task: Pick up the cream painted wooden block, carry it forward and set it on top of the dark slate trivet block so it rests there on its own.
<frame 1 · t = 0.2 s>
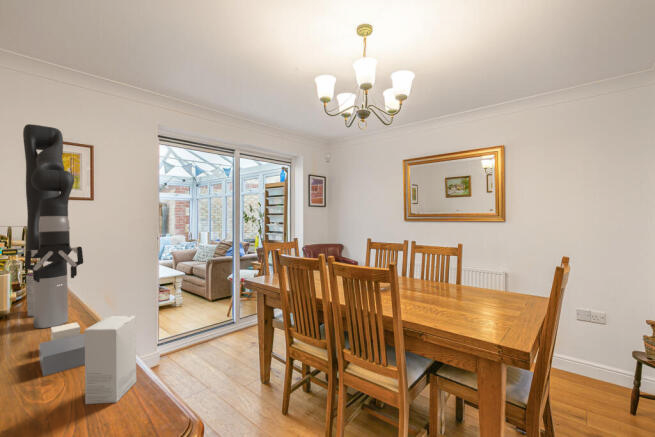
hand: (55, 279, 101), 18 cm above the table, tool pointing down, fingers open, 8 cm apart
slate trivet block: (71, 361, 83), on the table
candy bar box: (46, 313, 125), on the table
cream block: (65, 347, 91), on the table
skincare box: (113, 394, 67), on the table
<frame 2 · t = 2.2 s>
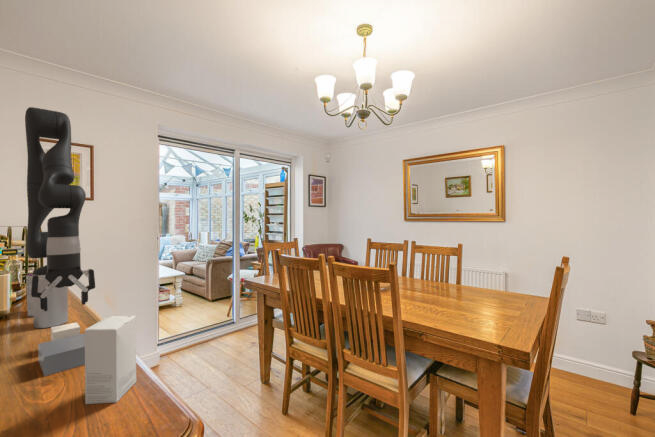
hand: (65, 307, 91), 12 cm above the table, tool pointing down, fingers open, 8 cm apart
nothing on the table moved.
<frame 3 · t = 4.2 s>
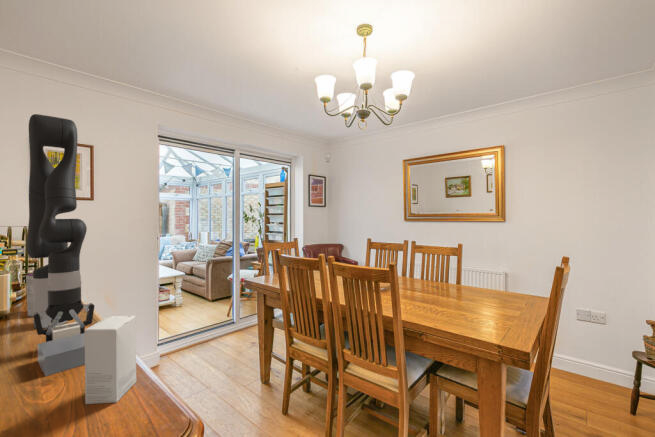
hand: (65, 343, 91), 1 cm above the table, tool pointing down, fingers closed on cream block, 6 cm apart
cream block: (65, 347, 91), on the table, touching gripper
everything else where it was.
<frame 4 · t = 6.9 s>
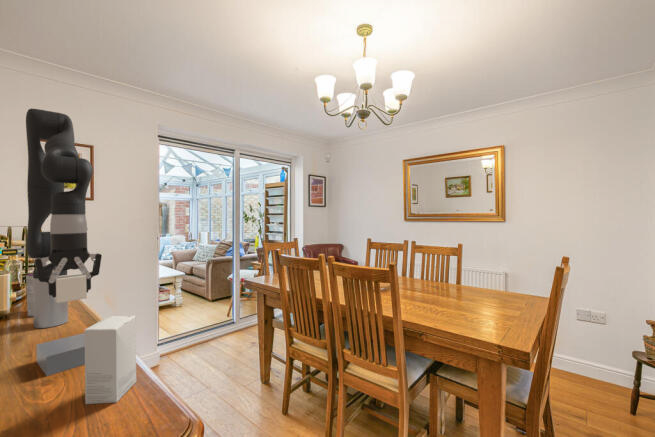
hand: (70, 294, 83), 18 cm above the table, tool pointing down, fingers closed on cream block, 6 cm apart
cream block: (70, 298, 83), point 16 cm above the table, touching gripper
everything else where it was.
when the fingers open (7 cm above the table, at t = 9.7 s): cream block drops 1 cm, resting on slate trivet block.
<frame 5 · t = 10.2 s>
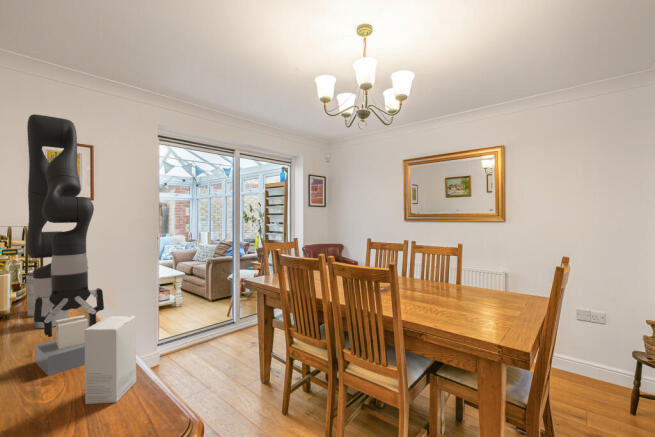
hand: (71, 331, 83), 8 cm above the table, tool pointing down, fingers open, 8 cm apart
slate trivet block: (71, 361, 83), on the table, touching cream block
cream block: (72, 342, 83), point 5 cm above the table, touching slate trivet block
everything else where it was.
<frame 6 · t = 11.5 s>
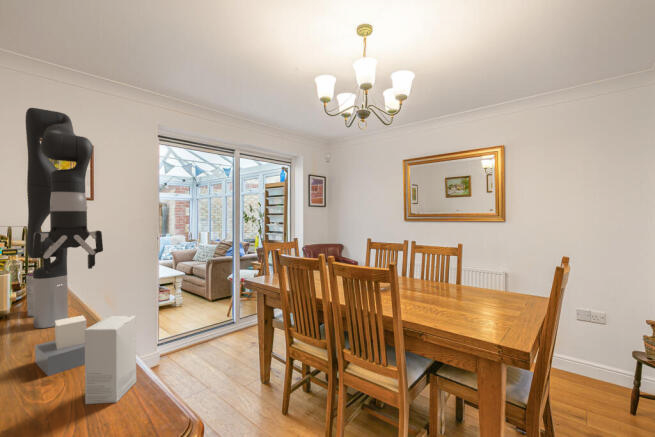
hand: (70, 270, 83), 24 cm above the table, tool pointing down, fingers open, 8 cm apart
slate trivet block: (71, 361, 83), on the table
cream block: (71, 342, 83), point 5 cm above the table
everything else where it was.
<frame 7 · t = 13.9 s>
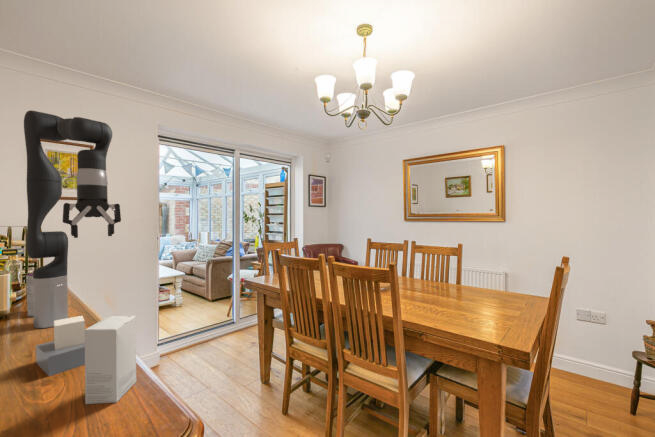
hand: (93, 236, 96), 32 cm above the table, tool pointing down, fingers open, 8 cm apart
slate trivet block: (72, 361, 83), on the table, touching cream block
cream block: (69, 343, 83), point 5 cm above the table, touching slate trivet block
everything else where it was.
at the end: cream block inside the target area on the slate trivet block (0.6 cm from its centre), point 5.0 cm above the slate trivet block's base; cream block tilted 0°; the gripper is holding nothing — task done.
